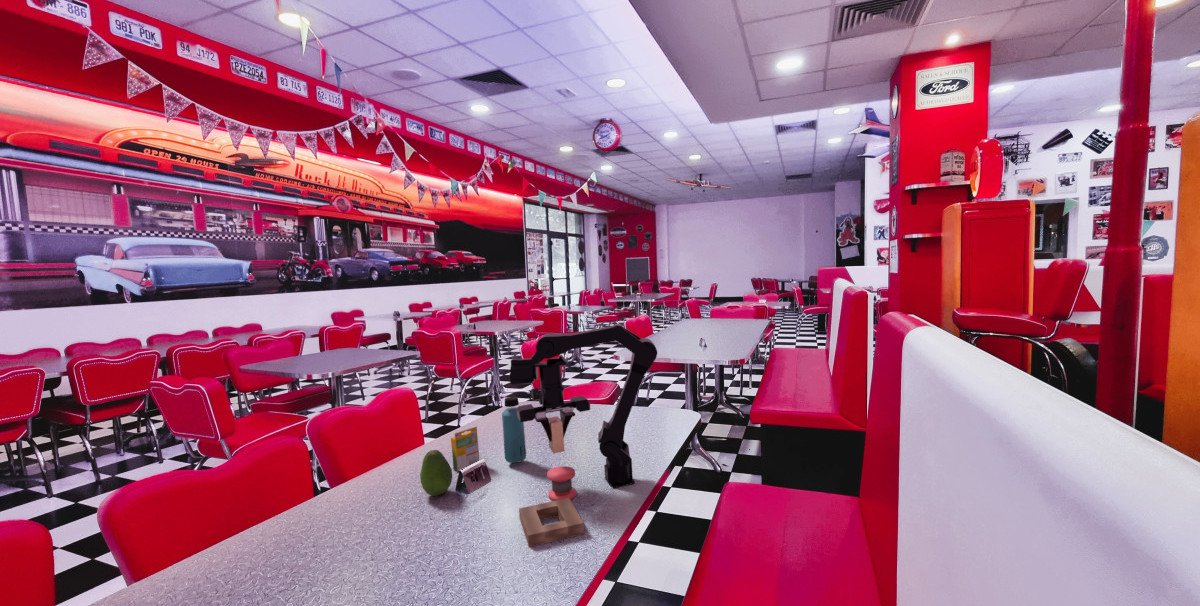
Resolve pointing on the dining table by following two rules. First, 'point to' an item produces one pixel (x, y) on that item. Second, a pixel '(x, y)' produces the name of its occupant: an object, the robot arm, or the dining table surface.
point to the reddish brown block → (556, 435)
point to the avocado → (435, 473)
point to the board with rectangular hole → (555, 531)
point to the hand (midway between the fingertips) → (556, 439)
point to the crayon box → (465, 448)
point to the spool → (561, 483)
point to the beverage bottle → (513, 432)
